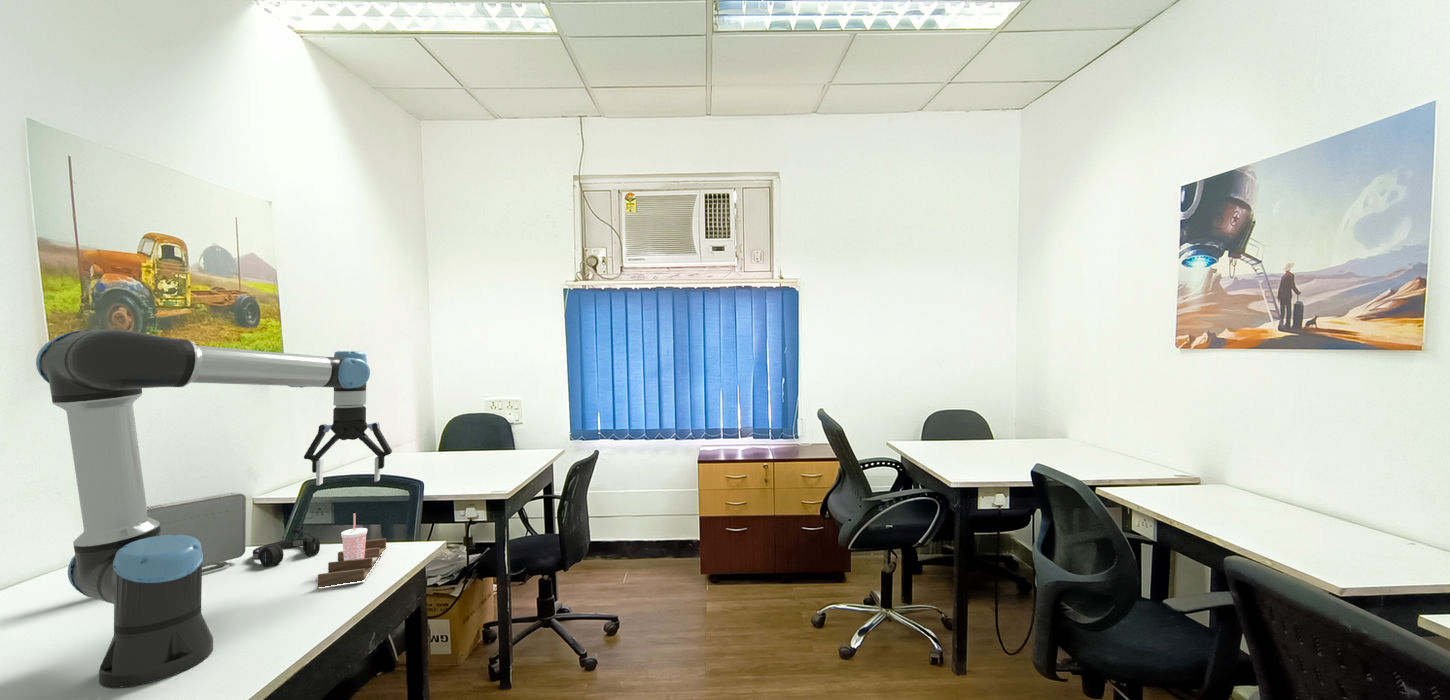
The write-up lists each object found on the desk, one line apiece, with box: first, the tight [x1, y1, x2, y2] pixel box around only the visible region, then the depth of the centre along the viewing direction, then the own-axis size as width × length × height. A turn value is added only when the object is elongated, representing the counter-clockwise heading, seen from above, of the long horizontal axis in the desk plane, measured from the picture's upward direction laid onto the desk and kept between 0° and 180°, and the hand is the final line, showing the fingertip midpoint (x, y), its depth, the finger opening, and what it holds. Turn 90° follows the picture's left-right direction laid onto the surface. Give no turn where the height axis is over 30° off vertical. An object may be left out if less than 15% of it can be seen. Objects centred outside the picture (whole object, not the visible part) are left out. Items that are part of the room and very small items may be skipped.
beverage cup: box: [340, 512, 368, 561], centre depth 151 cm, size 6×6×14 cm
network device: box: [147, 491, 247, 577], centre depth 145 cm, size 26×9×20 cm, turn 148°
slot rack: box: [317, 537, 387, 588], centre depth 151 cm, size 26×10×4 cm, turn 21°
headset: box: [252, 528, 321, 567], centre depth 159 cm, size 14×10×20 cm
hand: (348, 482), depth 150 cm, fingers open, 13 cm apart
